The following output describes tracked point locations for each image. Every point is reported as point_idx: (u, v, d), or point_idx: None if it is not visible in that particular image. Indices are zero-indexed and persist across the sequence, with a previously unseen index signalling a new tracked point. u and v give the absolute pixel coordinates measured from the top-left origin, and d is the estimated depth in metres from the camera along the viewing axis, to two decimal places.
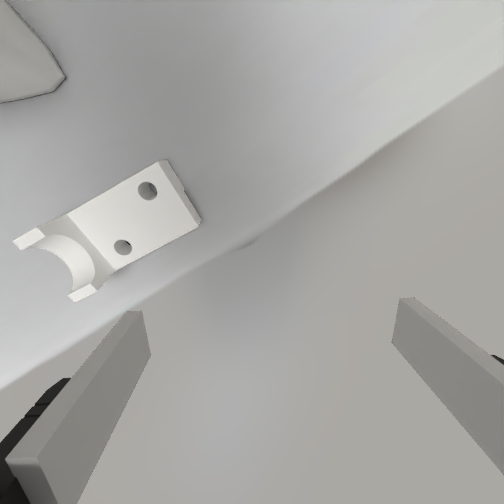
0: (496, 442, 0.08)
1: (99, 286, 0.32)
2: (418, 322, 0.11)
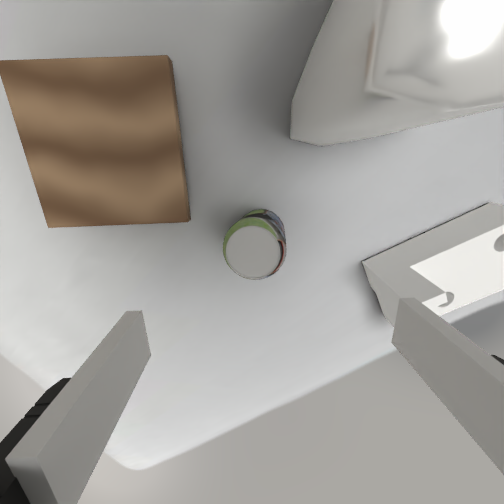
0: (496, 442, 0.08)
1: None
2: (418, 322, 0.11)
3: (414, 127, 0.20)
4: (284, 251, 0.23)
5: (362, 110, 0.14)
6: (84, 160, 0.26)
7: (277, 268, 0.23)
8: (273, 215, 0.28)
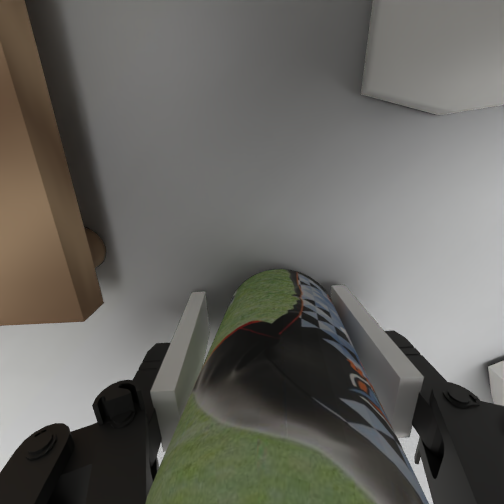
0: None
1: None
2: (340, 305, 0.13)
3: None
4: None
5: None
6: None
7: None
8: (321, 302, 0.10)
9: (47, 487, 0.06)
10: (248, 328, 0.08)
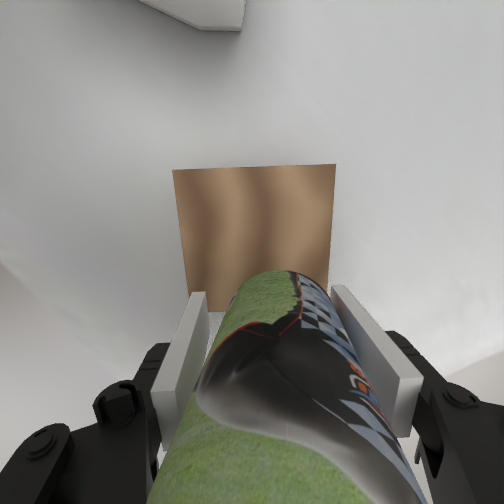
0: None
1: None
2: (340, 305, 0.13)
3: None
4: None
5: None
6: (265, 262, 0.27)
7: None
8: (321, 302, 0.10)
9: (47, 487, 0.06)
10: (248, 329, 0.08)
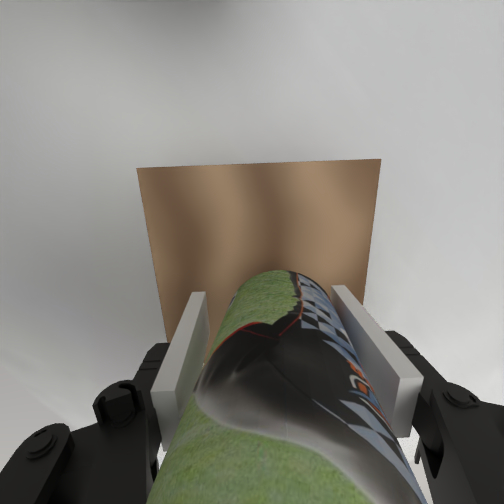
0: None
1: None
2: (340, 305, 0.13)
3: None
4: None
5: None
6: None
7: None
8: (321, 303, 0.10)
9: (47, 487, 0.06)
10: (248, 329, 0.08)
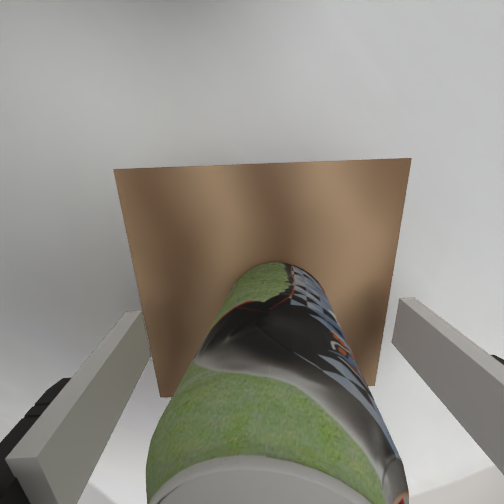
0: (496, 442, 0.08)
1: None
2: (418, 322, 0.11)
3: None
4: None
5: None
6: None
7: None
8: (312, 288, 0.11)
9: None
10: (243, 307, 0.09)
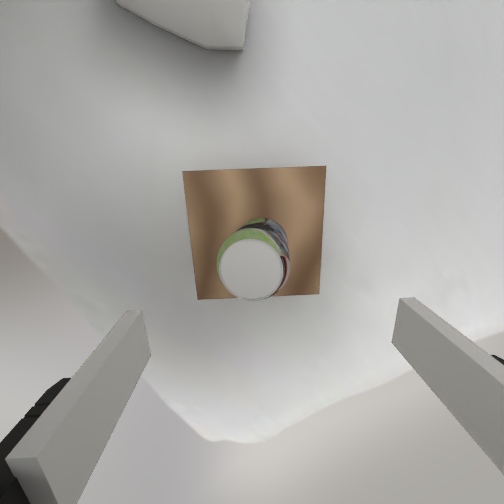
0: (496, 442, 0.08)
1: None
2: (418, 322, 0.11)
3: None
4: (288, 268, 0.19)
5: None
6: None
7: (280, 287, 0.20)
8: (275, 225, 0.25)
9: None
10: (244, 225, 0.23)
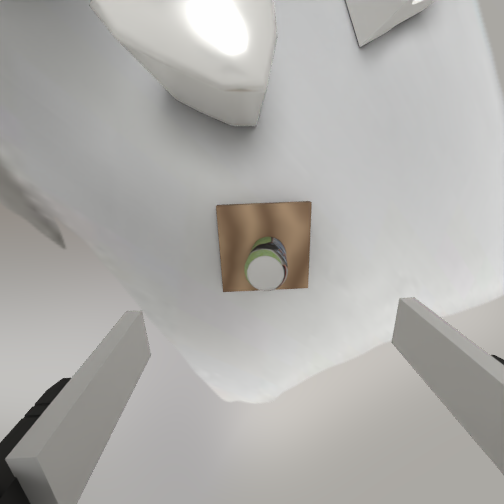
0: (496, 442, 0.08)
1: None
2: (418, 322, 0.11)
3: None
4: (286, 272, 0.33)
5: None
6: None
7: (281, 283, 0.34)
8: (278, 242, 0.39)
9: None
10: (259, 244, 0.37)
